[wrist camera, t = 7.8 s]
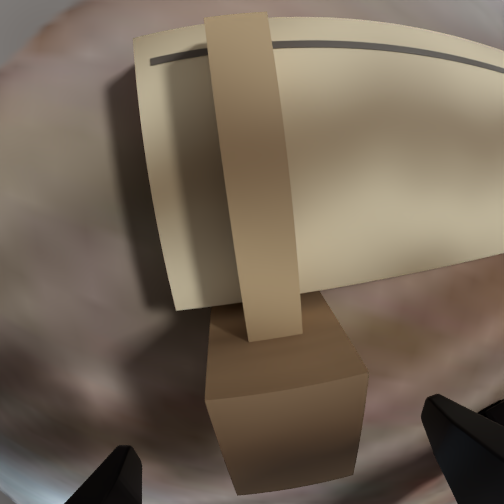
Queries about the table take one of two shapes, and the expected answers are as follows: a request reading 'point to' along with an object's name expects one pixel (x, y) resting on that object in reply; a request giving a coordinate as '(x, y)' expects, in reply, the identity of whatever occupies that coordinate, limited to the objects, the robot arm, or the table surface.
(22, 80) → the table surface
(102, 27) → the table surface
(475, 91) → the board
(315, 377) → the wooden mallet
